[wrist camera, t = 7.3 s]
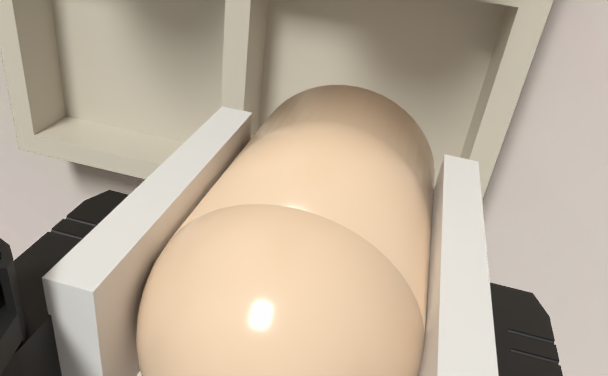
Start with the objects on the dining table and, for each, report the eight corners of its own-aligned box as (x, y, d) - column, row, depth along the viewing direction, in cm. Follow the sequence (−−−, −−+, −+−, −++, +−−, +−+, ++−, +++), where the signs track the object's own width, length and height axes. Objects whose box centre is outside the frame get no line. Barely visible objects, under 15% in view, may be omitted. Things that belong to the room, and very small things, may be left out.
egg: (249, 224, 15) (87, 491, 8) (262, 67, 12) (49, 266, 6) (411, 264, 14) (375, 589, 8) (457, 107, 12) (463, 380, 5)
